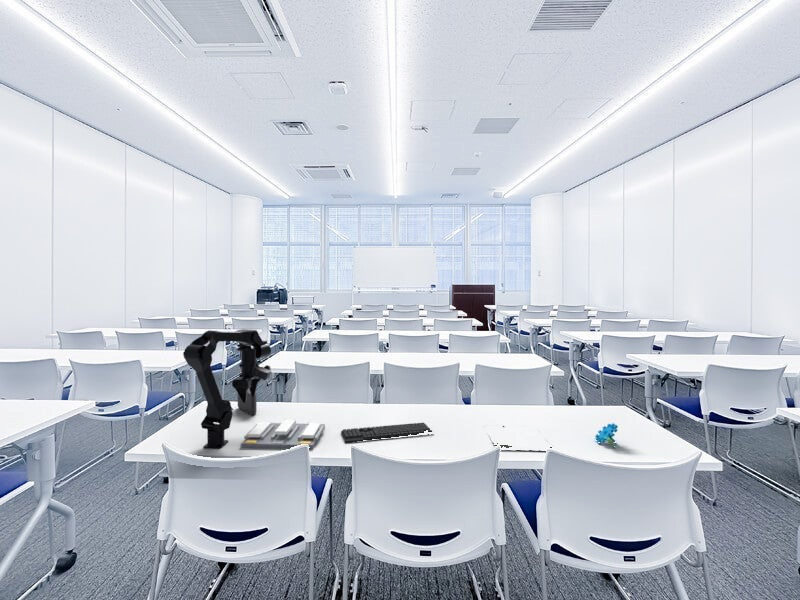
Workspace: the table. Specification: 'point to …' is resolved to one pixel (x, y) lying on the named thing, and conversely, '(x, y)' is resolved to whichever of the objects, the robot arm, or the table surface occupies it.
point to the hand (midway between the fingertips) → (248, 399)
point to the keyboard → (383, 432)
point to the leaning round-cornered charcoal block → (248, 404)
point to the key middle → (285, 427)
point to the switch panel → (281, 438)
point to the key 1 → (259, 429)
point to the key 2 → (311, 430)
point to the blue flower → (607, 434)
